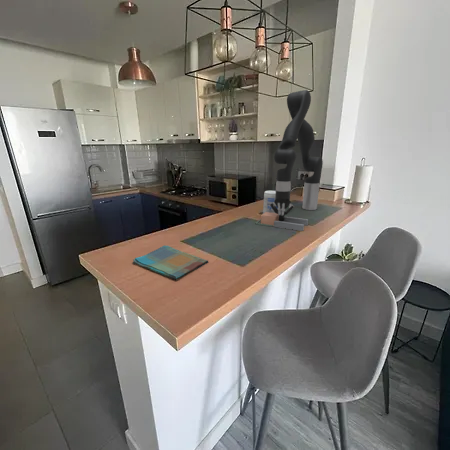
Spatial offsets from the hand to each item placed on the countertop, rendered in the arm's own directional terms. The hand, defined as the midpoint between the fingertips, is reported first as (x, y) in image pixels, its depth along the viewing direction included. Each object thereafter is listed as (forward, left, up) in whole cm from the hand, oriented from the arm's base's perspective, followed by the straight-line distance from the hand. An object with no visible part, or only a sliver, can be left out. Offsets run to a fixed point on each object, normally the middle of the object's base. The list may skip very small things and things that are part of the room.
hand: (281, 221), depth 134 cm
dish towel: (+63, -23, -3) cm, 67 cm away
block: (0, -6, -2) cm, 7 cm away
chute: (0, +5, -2) cm, 6 cm away
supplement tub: (-13, -10, -2) cm, 17 cm away
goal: (0, -8, -2) cm, 8 cm away
